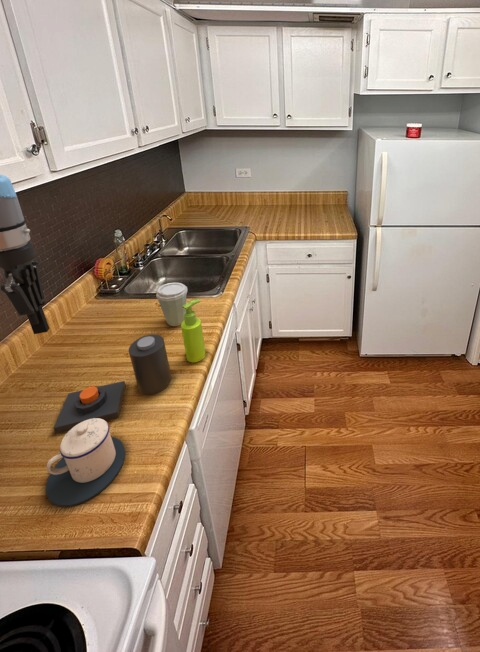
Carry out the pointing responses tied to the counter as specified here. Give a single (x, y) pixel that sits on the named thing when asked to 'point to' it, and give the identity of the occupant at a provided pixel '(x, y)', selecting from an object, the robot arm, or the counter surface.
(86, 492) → the mat
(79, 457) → the teacup with lid
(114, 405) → the kettle base
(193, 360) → the soap dispenser
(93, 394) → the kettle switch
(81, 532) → the counter surface
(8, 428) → the counter surface
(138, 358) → the dark grey cylinder
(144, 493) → the counter surface
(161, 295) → the disposable coffee cup
